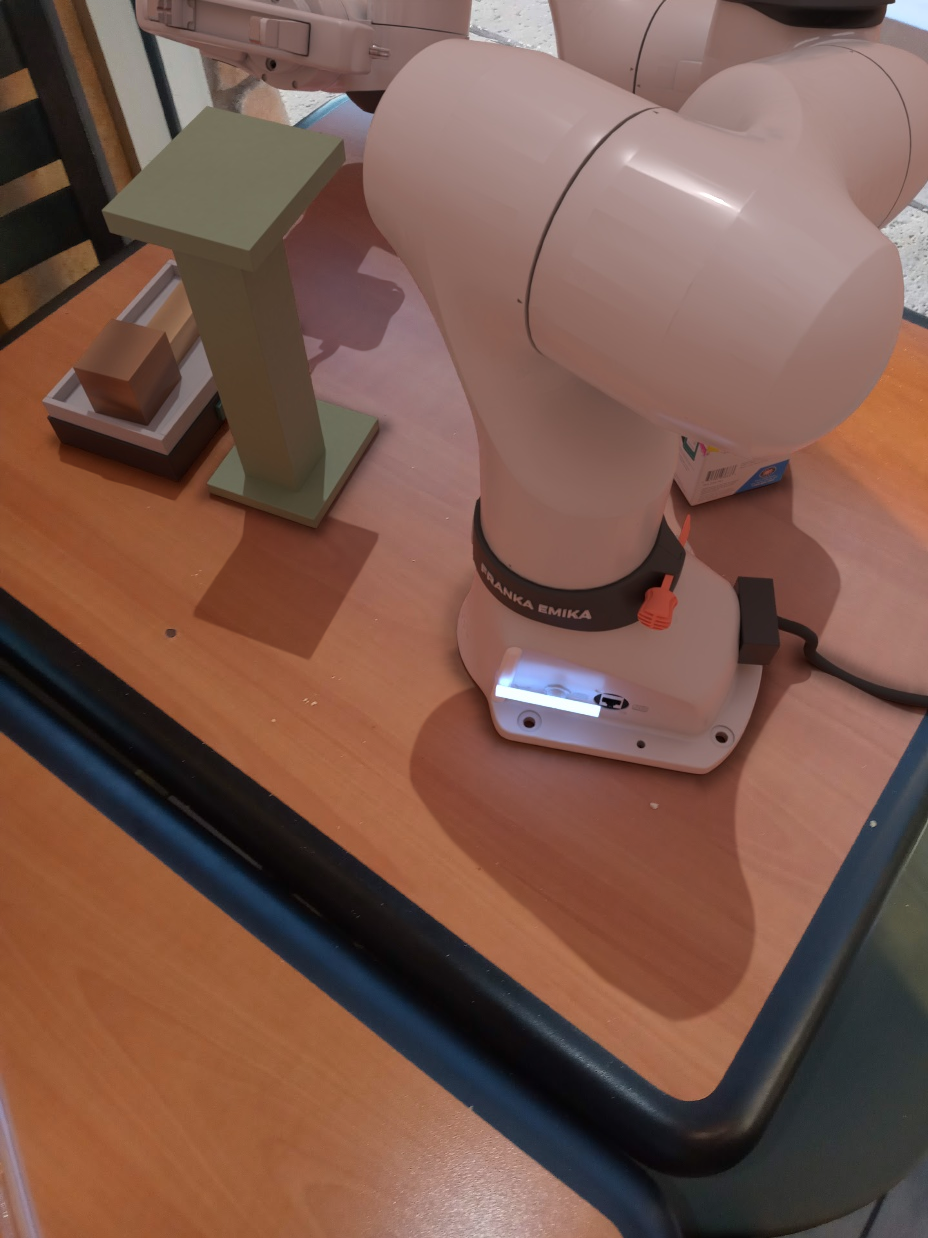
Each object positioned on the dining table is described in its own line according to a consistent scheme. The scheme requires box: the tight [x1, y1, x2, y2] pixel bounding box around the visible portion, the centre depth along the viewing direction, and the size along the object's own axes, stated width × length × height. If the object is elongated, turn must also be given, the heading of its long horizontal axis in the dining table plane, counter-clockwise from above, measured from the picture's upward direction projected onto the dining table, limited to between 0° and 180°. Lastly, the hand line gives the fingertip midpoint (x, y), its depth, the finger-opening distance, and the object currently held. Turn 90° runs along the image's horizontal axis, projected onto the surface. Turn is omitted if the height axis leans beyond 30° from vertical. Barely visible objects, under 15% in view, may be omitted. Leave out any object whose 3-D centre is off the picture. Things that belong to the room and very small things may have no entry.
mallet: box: [72, 280, 200, 426], centre depth 77 cm, size 5×17×5 cm, turn 161°
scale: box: [41, 259, 227, 483], centre depth 80 cm, size 12×20×5 cm, turn 157°
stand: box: [101, 105, 380, 530], centre depth 67 cm, size 10×12×26 cm
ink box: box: [673, 435, 793, 506], centre depth 70 cm, size 8×5×15 cm, turn 108°
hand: (202, 18), depth 69 cm, fingers open, 8 cm apart
